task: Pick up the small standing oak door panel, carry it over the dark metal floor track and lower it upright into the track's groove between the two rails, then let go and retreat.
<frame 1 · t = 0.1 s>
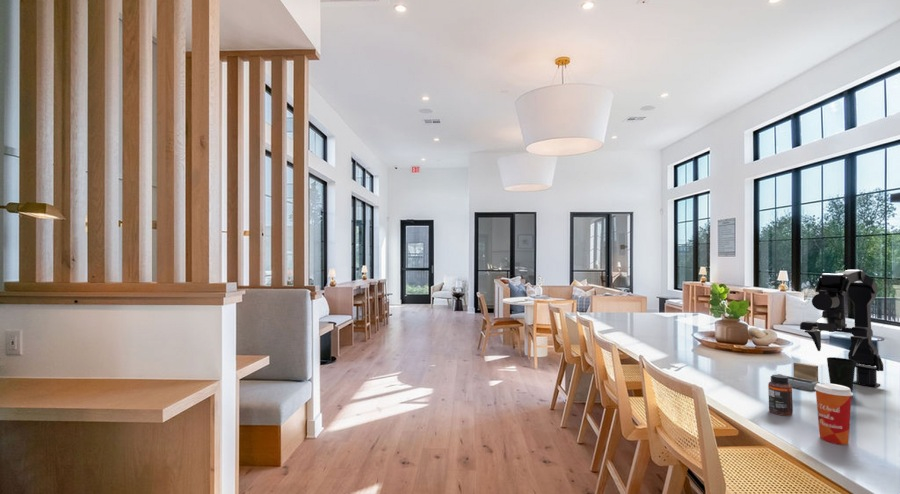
hand: (835, 353, 154), 15 cm above the table, tool pointing down, fingers open, 9 cm apart
oak panel: (805, 382, 171), on the table
track: (794, 385, 166), on the table
paper cup: (834, 441, 114), on the table
supplement bottle: (780, 413, 135), on the table
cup: (841, 394, 156), on the table
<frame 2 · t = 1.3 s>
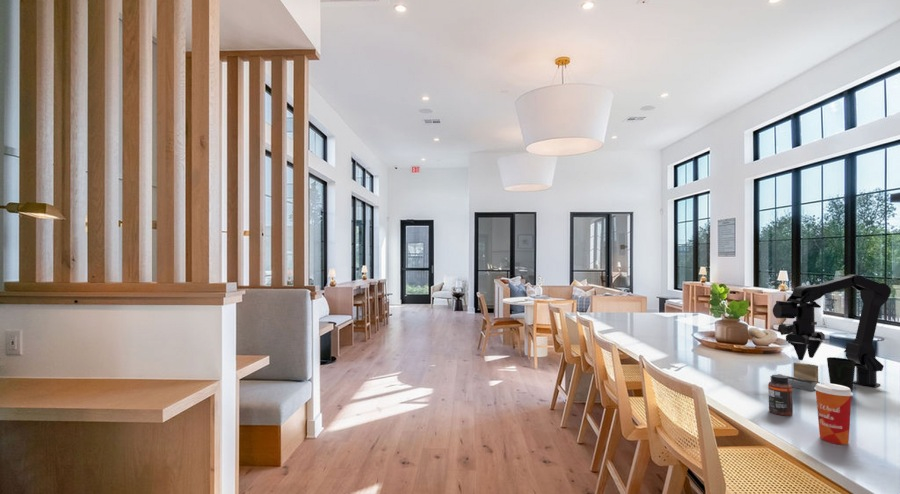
hand: (805, 358, 171), 9 cm above the table, tool pointing down, fingers open, 9 cm apart
nothing on the table moved.
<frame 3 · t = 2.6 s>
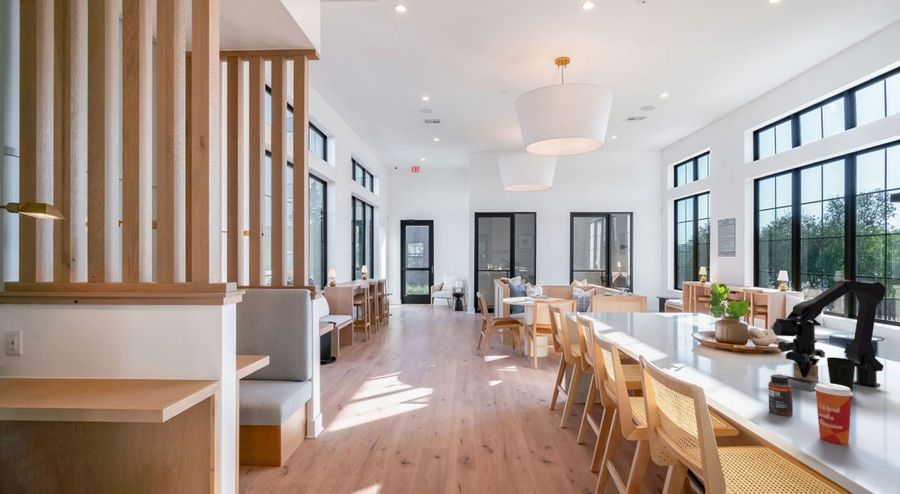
hand: (805, 376, 171), 2 cm above the table, tool pointing down, fingers closed on oak panel, 2 cm apart
oak panel: (805, 382, 171), on the table, touching gripper
everything else where it was.
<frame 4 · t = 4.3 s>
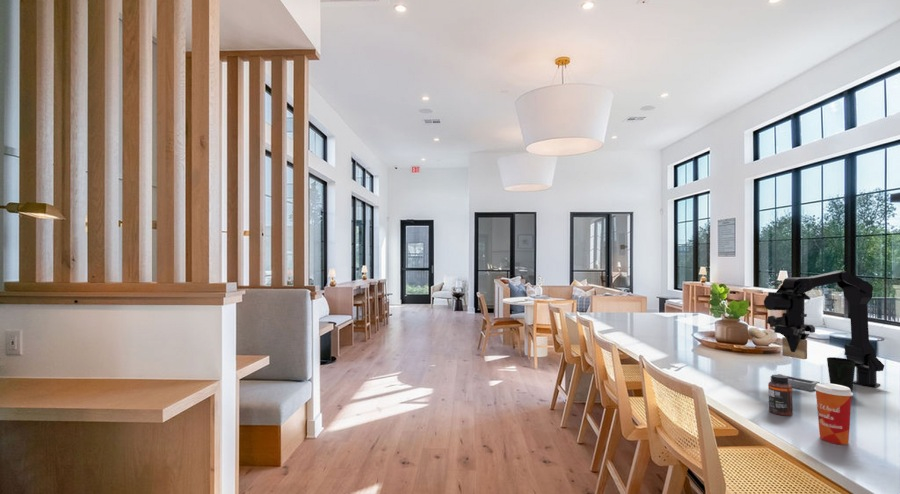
hand: (794, 351, 167), 13 cm above the table, tool pointing down, fingers closed on oak panel, 2 cm apart
oak panel: (794, 357, 167), point 10 cm above the table, touching gripper
everything else where it was.
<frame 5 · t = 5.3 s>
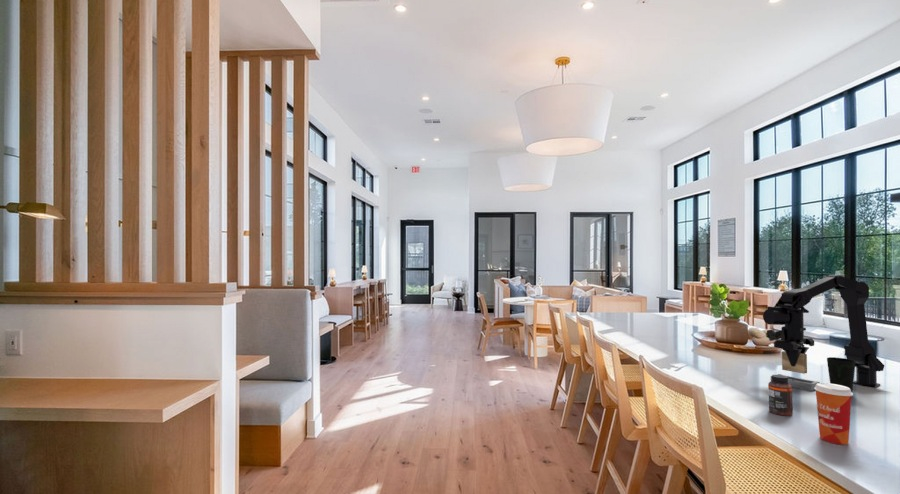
hand: (794, 365, 166), 7 cm above the table, tool pointing down, fingers closed on oak panel, 2 cm apart
oak panel: (794, 371, 166), point 5 cm above the table, touching gripper
everything else where it was.
when the fingers open (4 cm above the table, at t = 6.1 s): oak panel drops 1 cm, resting on track.
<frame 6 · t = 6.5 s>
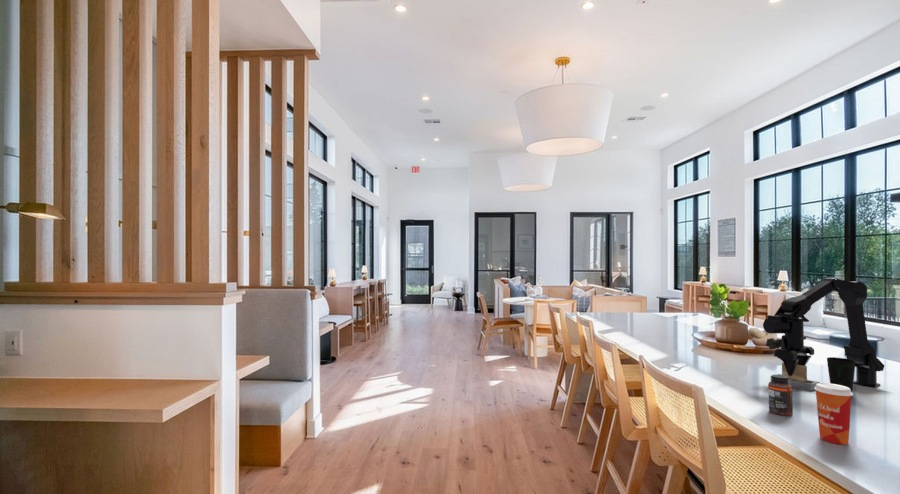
hand: (794, 374, 166), 4 cm above the table, tool pointing down, fingers open, 7 cm apart
oak panel: (794, 383, 166), point 1 cm above the table, touching track
everything else where it was.
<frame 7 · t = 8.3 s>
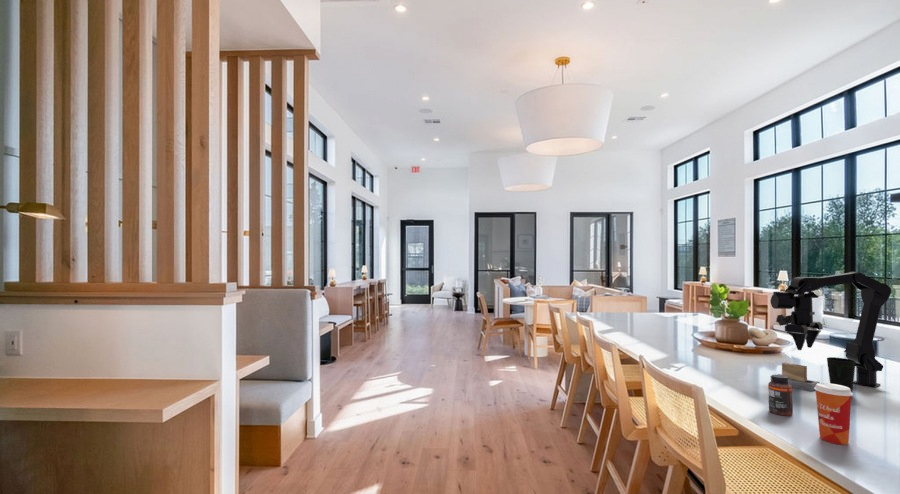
hand: (804, 348, 172), 13 cm above the table, tool pointing down, fingers open, 9 cm apart
nothing on the table moved.
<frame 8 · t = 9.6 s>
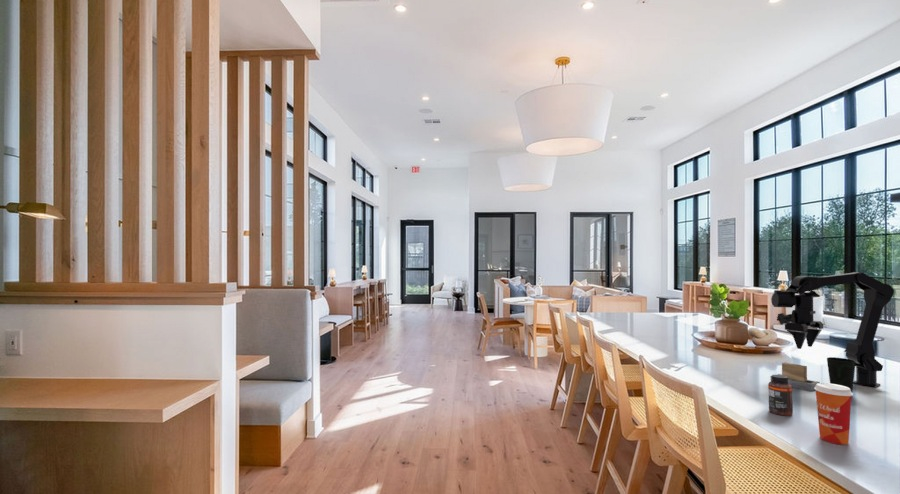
hand: (804, 347, 173), 13 cm above the table, tool pointing down, fingers open, 9 cm apart
nothing on the table moved.
at the end: oak panel 0.1 cm off-centre on the track, point 0.8 cm above the track's base; oak panel tilted 0°; the gripper is holding nothing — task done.
